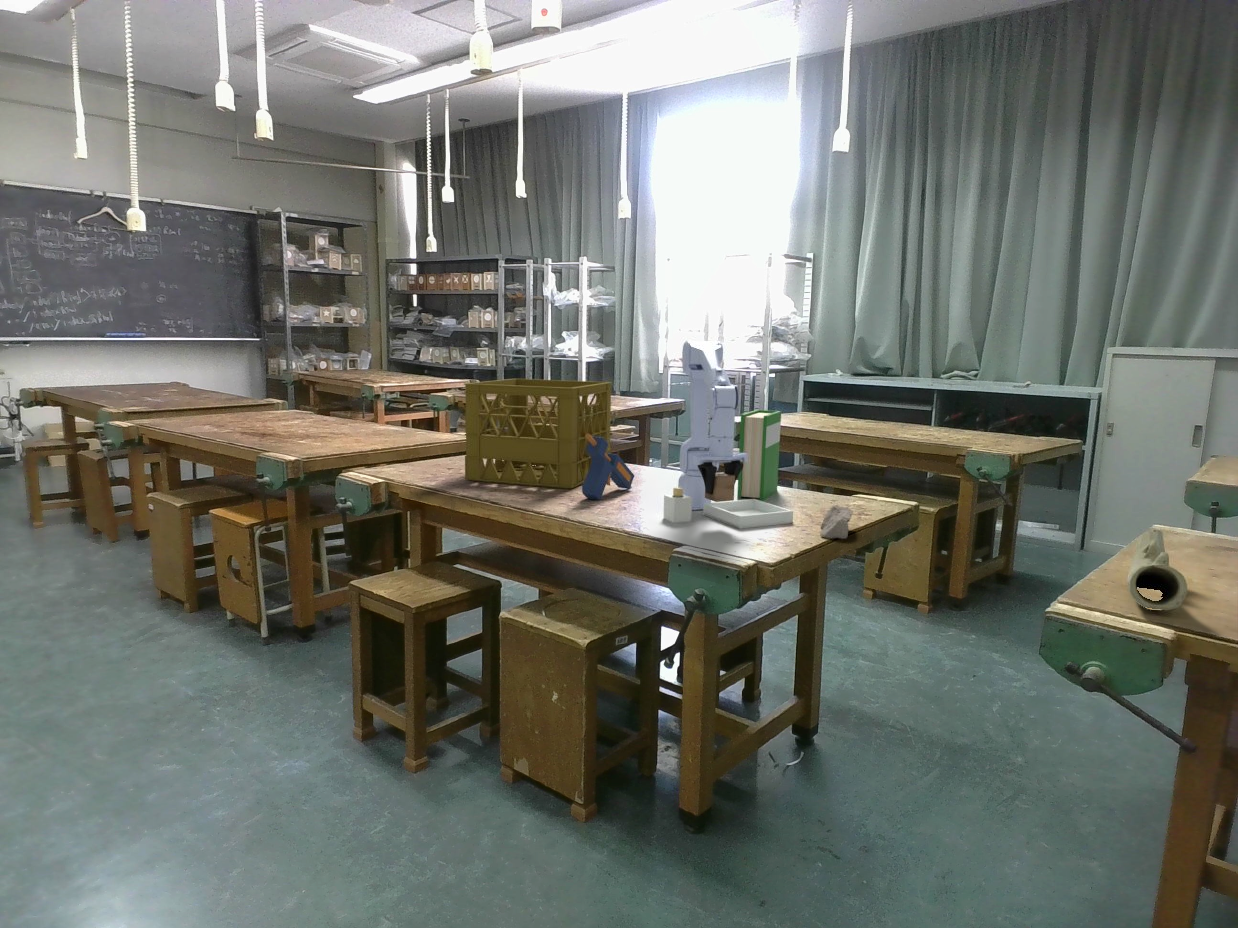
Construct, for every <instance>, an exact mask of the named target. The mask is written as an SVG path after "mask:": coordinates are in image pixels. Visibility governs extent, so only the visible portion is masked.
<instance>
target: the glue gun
mask: <svg viewBox="0 0 1238 928" xmlns="http://www.w3.org/2000/svg"><path fill="white" fill-rule="evenodd" d="M585 437H586V438H587V439H588V441H589V443H588V445H587V448H586V450H585V451H586V452H587V453H588V454H589V455H590V457H591V459H592V464H591V467H590V469H589V472H588V474H587V476H586V478H585V481H584V483H582V484H581V491H582V492H581V493H582V495H583V496H585V498H586V499H588V500H589V499H590V500H597V501H600V500H602V496H603V495H604V491H605V489H606V486H611V481H612V482H613V483H614V484H615V486H616V487H617V488H620V489H627V490H630V489H632V484H633V481H634V478H635V474H634V473H633V472H632V470H631V469H630V468H629V467H628V466H627V464H626V463H625V462H624V460H622V458H621V457H620V456H619V454H617V453H611V454H609V453H605V452H606V449H607V447H608V443H607V441H606V440H605V439H604V438H603V437H592V436H591V435H590V434H589V433H588V434H586V435H585Z"/></svg>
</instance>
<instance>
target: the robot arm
mask: <svg viewBox="0 0 1238 928" xmlns="http://www.w3.org/2000/svg"><path fill="white" fill-rule="evenodd" d="M681 358H682V362H681V364H682V365H681V367H682V372H683V374H686V375H687V376H688V379H689V393H690V394H689V395H690V396H689V397H690V402H689V403H690V407H689V408H690V410H689V411H690V412H689V413H690V416H689V417H690V437H689V438H688V439H686V440H685V441H684V442H683V443H682V444H681V445H680V451H679V452H680V453H679V459H678V460H679V463H678V464H679V469H680V471H681V472H682V473H681V475H680V476H679V478H678V482H677V485H678V486H677V487H678V488H683V495H686V496H689V497H692V508H691V511H699V510H703V507H704V503H712V500H709V499H706V498H705V489H706V493H708V494H713V491H714V480H715V474H716V473H717V471H719V468H720V464H723V468H724V473H727V474H731V475H734V476H735V483H736V482H737V481H738V475H739V473H740V472H741V470H742V469H743V463H740V462H742V461H743V462H748V454H746V453H739V452H734V444H735V443H734V440H735V420H736V410H737V409H738V407H739V404H740V391H739V387H738V385H735V384H732V383H731V381H730V378H729V375H728V374H727V371H726V370H725V369H724V368H722V367H721V363H722V362H723V358H724V348H723V344H722V342H721V341H700V340H698V341H697V340H696V341H695V340H693V341H692V340H685V342H684V343H683V345H682V357H681ZM709 417H710V419H709ZM709 420H710V421H709ZM709 422H710V423H709Z"/></svg>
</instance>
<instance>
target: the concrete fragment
mask: <svg viewBox="0 0 1238 928" xmlns="http://www.w3.org/2000/svg"><path fill="white" fill-rule="evenodd" d="M853 514H854V510H853V509H851V508H850V507H847V506H846V507H844V506H840V505H838V504H835V505H833V506H832V507H831V508H830V509H829V510H828V511H827V513H826V515H825V516H824V517H823V520H822V523H821V526H820V530H821V533H820V537H822V538H825V539H826V538H827V539H835V538H837V539H846V540H847V538H848V534H849V523H850V521H851V519H852V516H853Z"/></svg>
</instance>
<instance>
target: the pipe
mask: <svg viewBox="0 0 1238 928" xmlns="http://www.w3.org/2000/svg"><path fill="white" fill-rule="evenodd" d="M1165 548H1166V547H1165V541H1164V535H1163V531H1162V530H1160V529H1153V531H1148V532H1144V533H1142V534H1140V535H1139V536H1138V537H1137V540H1136V545H1135V549H1134V552H1133V556H1132V559H1131V564H1130V567H1129V570H1128V575H1127V578H1126V579H1127V581H1126V582H1127V587H1128V591H1129V594H1130V596H1131V597H1132V599H1133V600H1134V601H1135V602H1136V603H1137V604H1138V605H1139V606H1140V605H1141V607H1142V606H1143V607H1142V608H1144V607H1147V608H1152V609H1162V610H1165V611H1170V610H1174V609H1177V608H1179V607H1180V606H1181V604H1182V603H1183V602H1184V600H1185V599H1186V597H1187V593H1188V584H1187V580H1186V578H1185V577H1184V575H1183V573H1181V572H1180V571H1179V570H1177V569H1175V568H1174V567H1172V566H1170V555H1169V553H1168V552H1166V549H1165ZM1137 587H1139V588H1147V589H1154V590H1160V591H1161V592H1162V593H1163V594H1162V596H1161V597H1163V598H1162V599H1161V600H1159V601H1152V600H1150V599H1147V598H1145V597H1143V596H1142V595H1141V594H1140V593H1139V591H1138V590H1137Z"/></svg>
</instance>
